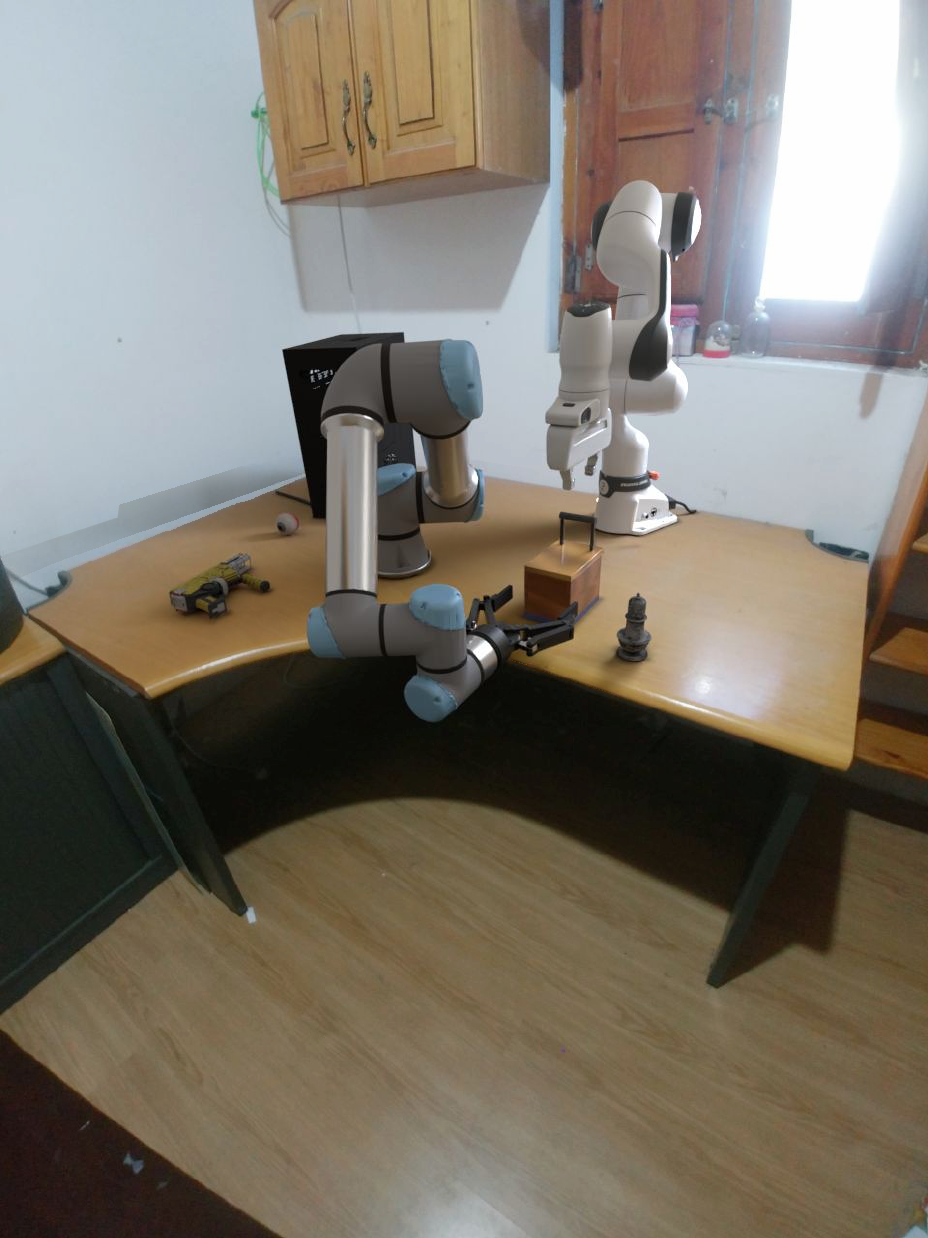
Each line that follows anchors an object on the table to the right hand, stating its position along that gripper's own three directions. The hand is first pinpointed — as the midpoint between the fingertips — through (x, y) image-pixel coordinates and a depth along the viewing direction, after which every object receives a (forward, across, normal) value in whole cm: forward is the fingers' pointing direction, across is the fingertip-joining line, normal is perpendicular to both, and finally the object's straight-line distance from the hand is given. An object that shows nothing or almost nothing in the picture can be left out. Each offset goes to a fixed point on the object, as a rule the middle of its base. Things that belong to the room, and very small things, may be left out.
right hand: (579, 481), depth 114 cm
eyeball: (+25, +5, -83) cm, 87 cm away
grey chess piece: (+24, +14, +18) cm, 34 cm away
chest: (+25, +6, 0) cm, 25 cm away
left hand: (+18, +15, 0) cm, 23 cm away
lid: (+14, +5, 0) cm, 15 cm away
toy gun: (+25, +35, -66) cm, 79 cm away
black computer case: (+25, -29, -84) cm, 92 cm away
